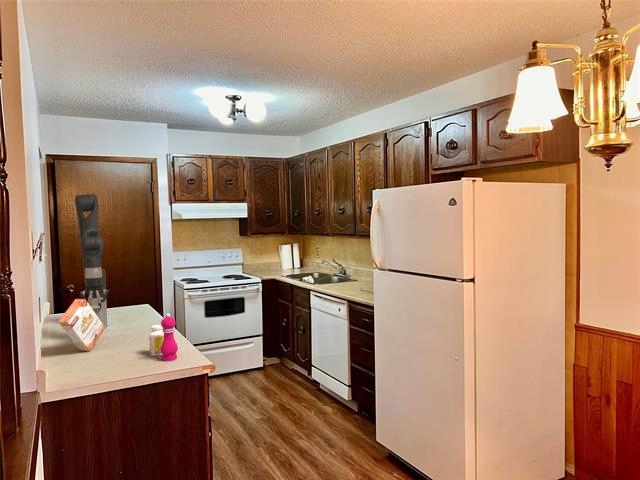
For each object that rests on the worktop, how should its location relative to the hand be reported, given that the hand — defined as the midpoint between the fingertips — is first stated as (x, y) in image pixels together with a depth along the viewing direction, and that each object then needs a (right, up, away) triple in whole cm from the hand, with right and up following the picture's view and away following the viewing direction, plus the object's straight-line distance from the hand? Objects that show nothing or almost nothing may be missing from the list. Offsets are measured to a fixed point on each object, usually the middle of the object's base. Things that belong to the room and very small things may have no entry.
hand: (95, 310), depth 236 cm
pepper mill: (+46, -17, -30) cm, 58 cm away
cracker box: (+4, -12, -11) cm, 17 cm away
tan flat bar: (+3, +1, -6) cm, 6 cm away
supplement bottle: (+39, -16, -22) cm, 48 cm away
